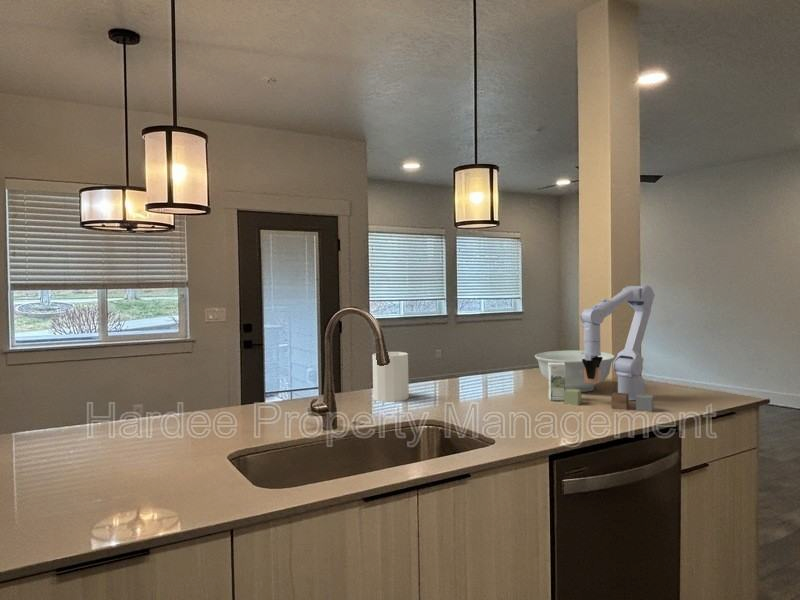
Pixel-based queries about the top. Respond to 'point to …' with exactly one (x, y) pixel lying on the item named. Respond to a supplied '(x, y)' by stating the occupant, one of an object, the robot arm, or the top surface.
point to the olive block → (572, 396)
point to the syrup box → (556, 381)
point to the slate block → (644, 403)
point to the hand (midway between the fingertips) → (592, 377)
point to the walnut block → (620, 401)
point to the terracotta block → (596, 378)
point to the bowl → (574, 367)
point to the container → (391, 378)
